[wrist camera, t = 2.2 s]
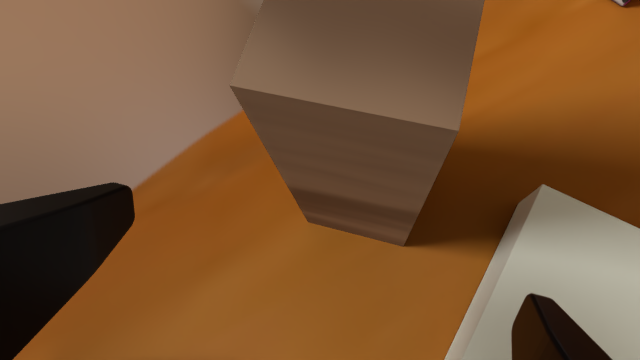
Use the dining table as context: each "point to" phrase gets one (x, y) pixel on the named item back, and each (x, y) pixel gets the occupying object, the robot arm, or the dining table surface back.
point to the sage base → (558, 277)
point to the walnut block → (359, 103)
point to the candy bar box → (621, 2)
